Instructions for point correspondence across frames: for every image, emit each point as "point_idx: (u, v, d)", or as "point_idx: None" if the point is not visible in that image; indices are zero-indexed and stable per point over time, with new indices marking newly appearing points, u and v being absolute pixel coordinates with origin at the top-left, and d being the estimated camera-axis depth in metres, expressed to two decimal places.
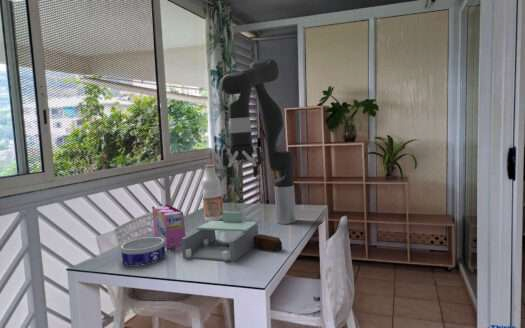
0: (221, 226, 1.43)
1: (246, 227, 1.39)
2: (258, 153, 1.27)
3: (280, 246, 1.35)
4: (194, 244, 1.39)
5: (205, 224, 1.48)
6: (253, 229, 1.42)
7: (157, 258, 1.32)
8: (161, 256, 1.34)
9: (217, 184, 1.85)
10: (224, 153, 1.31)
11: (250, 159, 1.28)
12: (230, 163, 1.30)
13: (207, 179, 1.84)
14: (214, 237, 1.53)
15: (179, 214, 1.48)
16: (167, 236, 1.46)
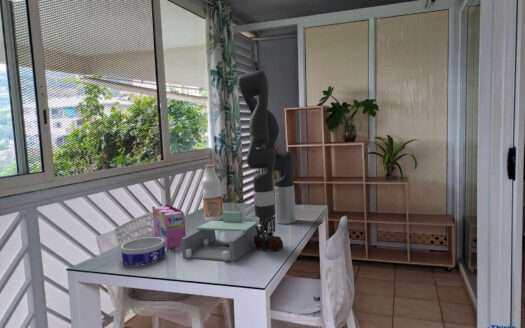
0: (221, 226, 1.43)
1: (246, 227, 1.39)
2: (274, 222, 1.42)
3: (281, 245, 1.36)
4: (194, 244, 1.39)
5: (205, 224, 1.48)
6: (253, 229, 1.42)
7: (157, 258, 1.32)
8: (161, 256, 1.34)
9: (217, 184, 1.85)
10: (263, 229, 1.31)
11: (273, 228, 1.39)
12: None
13: (207, 179, 1.84)
14: (214, 237, 1.53)
15: (180, 214, 1.48)
16: (168, 236, 1.46)
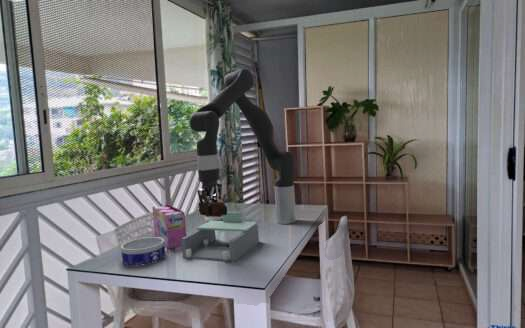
0: (221, 226, 1.43)
1: (246, 227, 1.39)
2: (220, 189, 1.38)
3: (225, 211, 1.32)
4: (194, 244, 1.39)
5: (205, 224, 1.48)
6: (253, 229, 1.42)
7: (157, 258, 1.32)
8: (161, 256, 1.34)
9: None
10: (205, 193, 1.28)
11: (218, 194, 1.35)
12: (210, 201, 1.31)
13: None
14: (214, 237, 1.53)
15: (180, 214, 1.48)
16: (168, 236, 1.46)
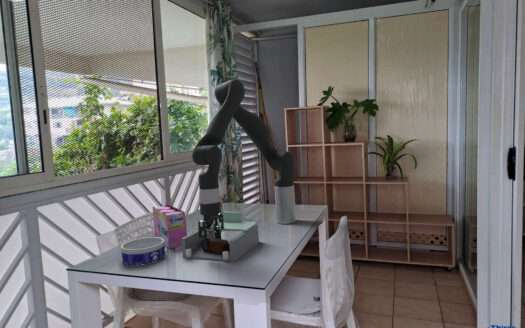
0: None
1: (246, 227, 1.39)
2: (222, 219, 1.39)
3: (228, 248, 1.33)
4: (194, 244, 1.39)
5: None
6: (253, 229, 1.42)
7: (157, 258, 1.32)
8: (161, 256, 1.34)
9: None
10: (205, 225, 1.27)
11: (220, 225, 1.36)
12: (209, 234, 1.30)
13: None
14: (214, 237, 1.53)
15: (181, 214, 1.48)
16: (169, 236, 1.46)
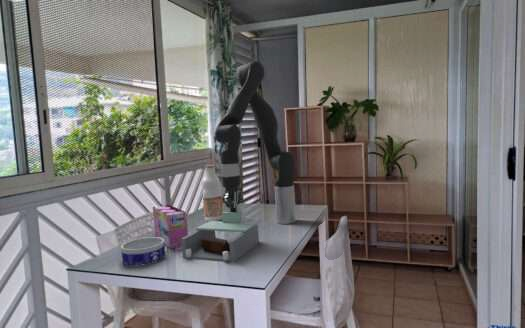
0: (220, 226, 1.43)
1: (245, 227, 1.39)
2: (240, 196, 1.54)
3: (228, 248, 1.34)
4: (194, 244, 1.39)
5: (204, 224, 1.48)
6: (253, 229, 1.42)
7: (157, 258, 1.32)
8: (161, 256, 1.34)
9: (217, 184, 1.85)
10: (229, 199, 1.45)
11: (237, 200, 1.51)
12: (235, 204, 1.50)
13: (207, 179, 1.84)
14: None
15: (182, 214, 1.48)
16: (170, 236, 1.46)
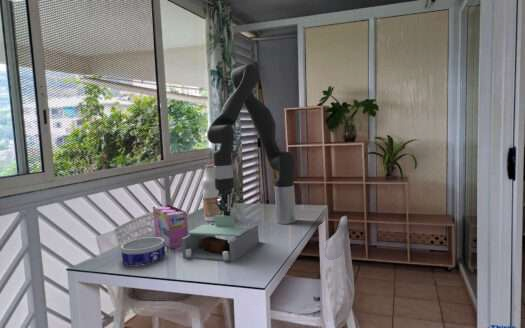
0: (213, 231, 1.37)
1: (239, 232, 1.33)
2: (234, 199, 1.49)
3: (228, 248, 1.34)
4: (194, 244, 1.39)
5: (196, 228, 1.42)
6: (253, 229, 1.42)
7: (157, 258, 1.32)
8: (161, 256, 1.34)
9: None
10: (222, 202, 1.40)
11: (231, 203, 1.45)
12: (228, 207, 1.44)
13: (207, 179, 1.84)
14: None
15: (182, 214, 1.48)
16: (170, 236, 1.46)
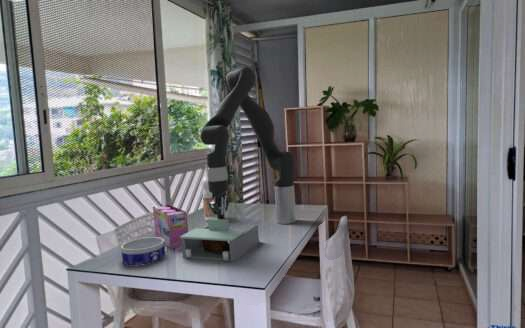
0: (206, 235, 1.33)
1: (232, 236, 1.29)
2: (228, 201, 1.44)
3: (228, 248, 1.34)
4: (194, 244, 1.39)
5: (189, 232, 1.38)
6: (253, 229, 1.42)
7: (157, 258, 1.32)
8: (161, 256, 1.34)
9: None
10: (216, 205, 1.35)
11: (225, 206, 1.41)
12: (222, 210, 1.40)
13: (207, 179, 1.84)
14: None
15: (182, 214, 1.48)
16: (170, 236, 1.46)
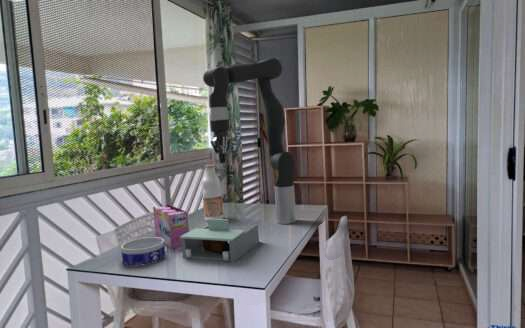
0: (206, 235, 1.33)
1: (232, 236, 1.29)
2: (229, 143, 1.50)
3: (228, 248, 1.34)
4: (194, 244, 1.39)
5: (189, 232, 1.38)
6: (253, 229, 1.42)
7: (157, 258, 1.32)
8: (161, 256, 1.34)
9: (217, 184, 1.85)
10: (217, 143, 1.42)
11: (226, 145, 1.47)
12: (224, 149, 1.46)
13: (207, 179, 1.84)
14: None
15: (183, 214, 1.48)
16: (171, 236, 1.46)
